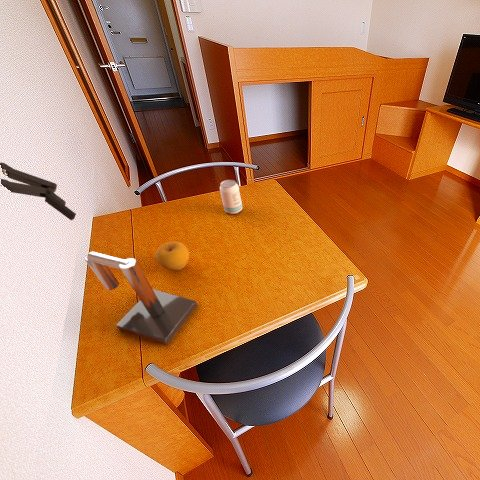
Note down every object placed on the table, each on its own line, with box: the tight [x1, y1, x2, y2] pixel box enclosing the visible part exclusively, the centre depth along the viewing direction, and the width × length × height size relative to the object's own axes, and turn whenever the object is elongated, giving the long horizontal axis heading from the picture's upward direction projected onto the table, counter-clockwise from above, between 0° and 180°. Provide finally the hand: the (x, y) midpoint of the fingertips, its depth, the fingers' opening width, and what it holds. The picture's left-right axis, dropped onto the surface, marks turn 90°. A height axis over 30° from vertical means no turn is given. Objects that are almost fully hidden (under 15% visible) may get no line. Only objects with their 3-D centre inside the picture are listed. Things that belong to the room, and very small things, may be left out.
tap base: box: [115, 288, 198, 346], centre depth 71 cm, size 14×12×2 cm
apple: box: [154, 241, 190, 271], centre depth 82 cm, size 9×9×9 cm
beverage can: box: [219, 179, 243, 215], centre depth 105 cm, size 7×7×12 cm
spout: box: [84, 251, 164, 317], centre depth 65 cm, size 13×3×18 cm, turn 74°
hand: (45, 234), depth 61 cm, fingers open, 13 cm apart
